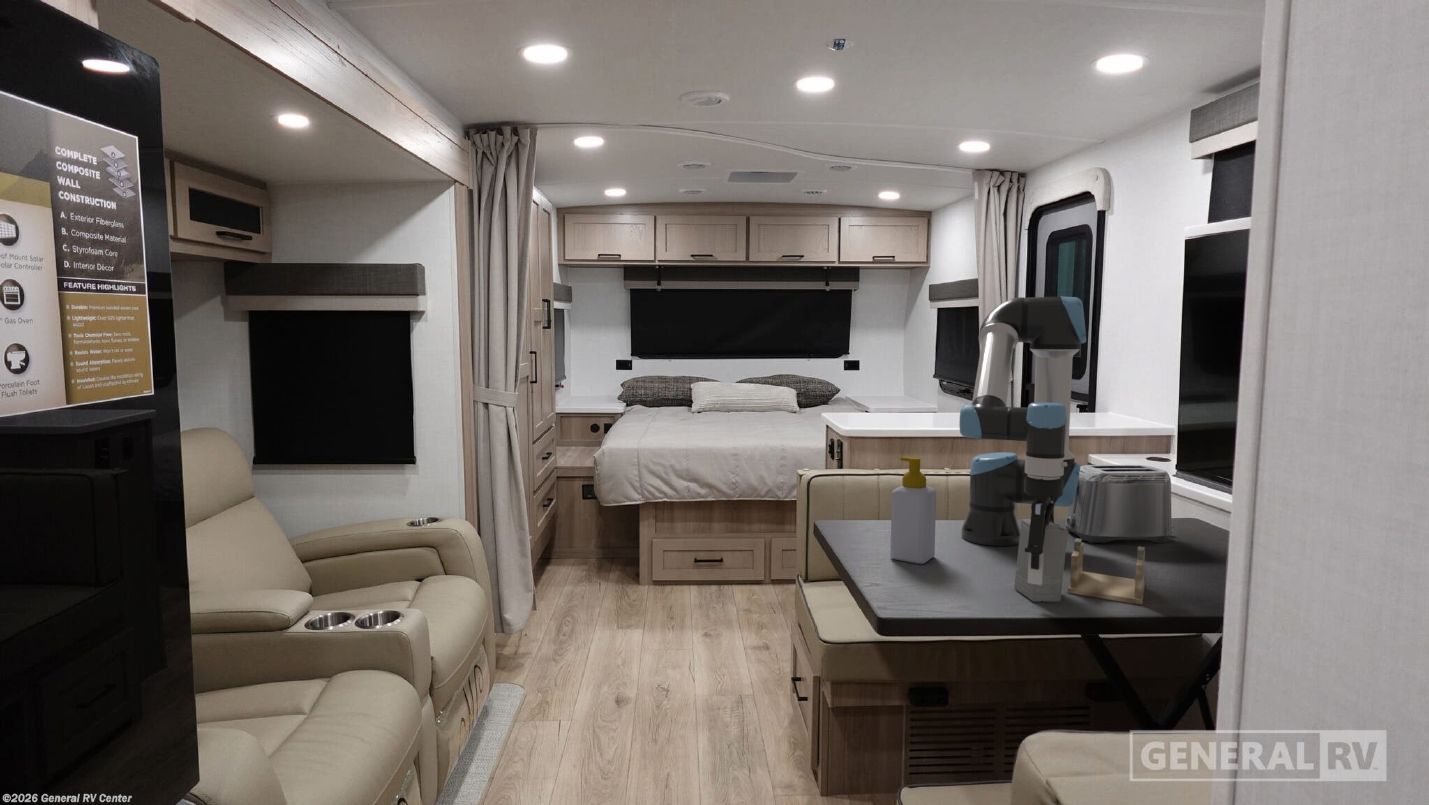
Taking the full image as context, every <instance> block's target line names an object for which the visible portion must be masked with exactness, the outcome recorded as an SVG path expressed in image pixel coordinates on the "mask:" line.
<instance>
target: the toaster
mask: <svg viewBox="0 0 1429 805" xmlns="http://www.w3.org/2000/svg"><path fill="white" fill-rule="evenodd" d="M1066 511H1067V512H1066V517H1065V523H1064V525H1065V528H1066V529H1065V530H1067V531H1068V533H1074V534H1076V535H1077V536H1078V537H1079V539H1082V541H1085V542H1088V543H1091V544H1093V543H1102V544H1103V543H1110V542H1112V541H1122V540H1123V541H1124V540H1126V541H1127V540H1142V541H1143V540H1144V541H1151V542H1152V543H1156V544H1157V543H1160V544H1165V543H1166V542H1168V541H1170V540H1171V537H1172V534H1173V533H1174V531H1172V529H1173V528H1174V527H1173V525H1172V523H1173V522H1172V482H1171V476H1170V474H1169V473H1168V471H1167V470H1164V469H1160V468H1158V467H1154V466H1150V465H1146V464H1145V465H1144V464H1085V465H1084V464H1083V465H1080V473H1079V480H1078V485H1077V490H1076V495H1075V499H1074V502H1073V504H1072V505H1071V506H1068V507H1067V510H1066Z"/></svg>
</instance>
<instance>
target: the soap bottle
mask: <svg viewBox="0 0 1429 805" xmlns="http://www.w3.org/2000/svg"><path fill="white" fill-rule="evenodd" d="M899 460H900V461H903V462H908V471H907V472H905V473H904V474H903V476H902V481H901V482H902V483H901V484H902V485H900V486H898V487H896V488H894V489H893V490H892V492H891V506H890V507H891V508H890V509H891V512H890V513H891V515H890V556H889V557H890V558H891V559H893V560H897V561H902V562H908V563H913V564H918V565H919V564H920V565H921V564H922V565H923V564H925V563H927V562H928V561H929V560H931V559H932V558H934V557H935V553H936V522H937V521H936V518H937V516H936V514H937V513H936V512H937V492H936V490H935V488H933V487H931V486H929V485H927V477H926V475H925V474H924V473H923V472H922V471H921V458H920V457H915V456H900V458H899Z"/></svg>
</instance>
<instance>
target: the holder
mask: <svg viewBox="0 0 1429 805" xmlns="http://www.w3.org/2000/svg"><path fill="white" fill-rule="evenodd" d="M1082 541H1083V540H1082V539H1081V538H1078V537H1076V538H1075V539H1074V544H1073V551H1072V554H1071V556H1070V557H1071V559H1070V577H1069V578H1070V579H1069V580H1070V582H1069V584H1068V586H1067V587H1068V588H1067V593H1068V594H1074V595H1079V596H1085V597H1091V598H1092V597H1093V598H1097V599H1098V598H1099V599H1103V600H1104V599H1105V600H1111V601H1116V602H1123V603H1128V604H1135V605H1140V606H1142V605H1143V602H1144V601H1143V600H1144V595H1145V587H1146V581H1145V580H1144V577H1145V562H1146V561H1145V560H1146V559H1145V557H1146V548H1145V547H1146V546H1137V557H1136V565H1135V578H1127V577H1121V576H1117V575H1116V576H1115V575H1109V574H1102V573H1096V572H1091V571H1090V572H1089V571H1083V566H1084V565H1083V561H1084V545H1085V544H1084V542H1082Z"/></svg>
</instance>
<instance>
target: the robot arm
mask: <svg viewBox="0 0 1429 805" xmlns="http://www.w3.org/2000/svg"><path fill="white" fill-rule="evenodd" d="M1083 304H1084V303H1083V301H1082V300H1081V299H1080V298H1079V297H1077V296H1074V297H1073V296H1063V295H1060V296H1037V297H1035V296H1034V297H1025V296H1023V297H1022V296H1021V297H1014V298H1010V299H1008V300H1006V301H1004V302H1002V303H1000V304H999V305H997V306H996V307H994V308H993V309H992V310H991V311H990V312H989V313H988V315H987V316H986V317H985V319H983V321H982V324H981V325H980V328H979V332H978V343H979V345H980V350H979V351H980V352H979V356H978V357H979V358H978V365H977V370H976V376H975V377H976V378H975V382H974V388H973V394H972V402H971V404H967V405H963V406H962V407H960V408H961V409H960V412H959V422H958V423H959V433H960V435H961V436H962V437H964V438H968V439H969V438H971V439H978V440H1006V441H1016V442H1017V441H1019V442H1026V443H1025V444H1026V445H1025V446H1026V448H1025V449H1026V450H1025V455H1024V459H1020V458H1019V457H1018V455H1017V453H1015V452H1005V451H1003V452H1001V451H1000V452H999V451H998V452H990V453H983V454H982V453H981V454H979V455H975V456H974V457H973V458H972V459H971V462H970V471H969V476H970V477H969V480H970V481H969V498H968V499H969V502H968V506H969V507H968V511H967V513H966V517H965V519H964V521H963V525H962V526H961V527H962V528H961V538H963V539H964V540H966V541H967V542H971V543H974V544H978V545H985V546H991V547H993V546H994V547H1009V546H1014V545H1015V546H1016V545H1019V539H1020V530H1021V527H1020V525H1019V521H1018V518H1017V515H1016V504H1026V505H1031V506H1030V507H1031V513H1030V519H1031V521H1030V530H1029V539H1028V547H1027V548H1025V552H1029V557H1028V582H1027V583H1031V584H1037V585H1042V577H1043V543H1044V536H1045V529H1046V526H1047V525H1049V521H1051V522H1053V523H1055V507H1056V508H1057V507H1061V508H1064V507H1065V508H1068V506H1071V505H1072V504H1073V502H1074V499H1075V495H1076V490H1077V485H1078V480H1079V473H1080V467H1081V464H1080V463H1079V462H1075V461H1076V460H1075V455H1074V454H1073V453H1072V452H1071V450H1070V448H1069V447H1070V446H1069V445H1070V443H1069V442H1070V420H1071V401H1072V400H1071V399H1072V398H1071V397H1072V381H1073V380H1072V379H1073V378H1072V377H1073V376H1072V375H1073V360H1074V359H1073V357H1074V355H1076V354H1077V353H1078V352H1080V348H1081V346H1080V345H1081V344H1085V343H1086V342H1087V334H1086V322H1085V321H1086V320H1085V312H1084V305H1083ZM1019 343H1029V345H1030V346H1029V350H1030V352H1032V353H1033V354H1034V356H1035V372H1034V373H1035V374H1034V375H1035V377H1034V378H1035V379H1034V395H1033V397H1034V400H1033V401H1034V402H1031V403H1029V404H1028V406H1027V407H1021V406H1020V407H1017V406H1016V407H1015V406H1007V404H1008V403H1007V402H1008V392H1009V387H1010V375H1011V368H1012V362H1013V361H1012V360H1013V359H1012V358H1013V351H1014V349H1015V348H1016V347H1017V345H1018V344H1019ZM1035 546H1038V547H1035Z"/></svg>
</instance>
